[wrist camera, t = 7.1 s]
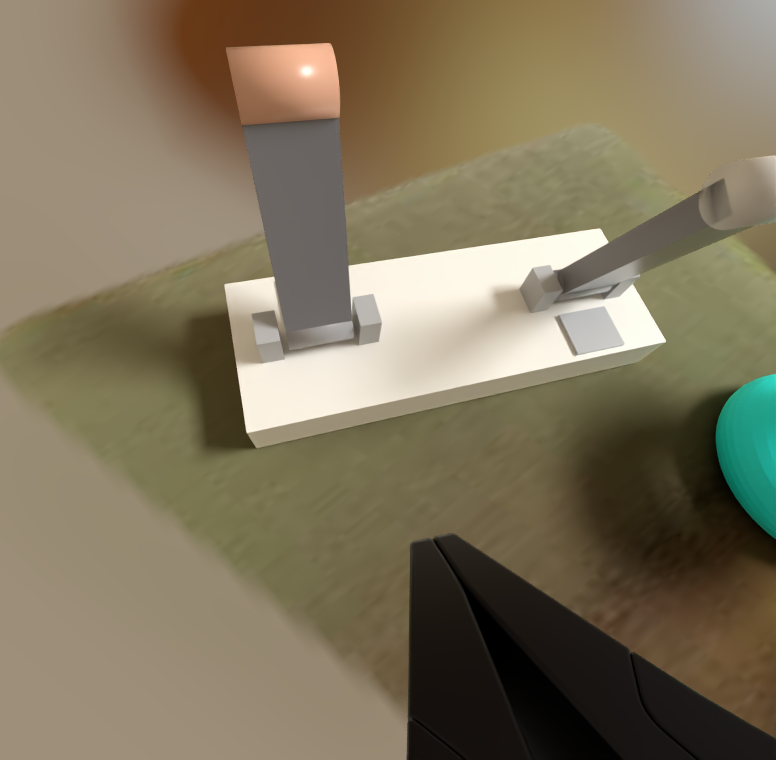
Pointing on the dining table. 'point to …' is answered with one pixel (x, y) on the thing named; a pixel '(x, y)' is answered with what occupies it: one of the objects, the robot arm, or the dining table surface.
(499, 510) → the dining table surface
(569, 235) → the switch unit
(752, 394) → the teal curved piece
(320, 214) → the terracotta lever
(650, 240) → the grey lever
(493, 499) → the dining table surface
